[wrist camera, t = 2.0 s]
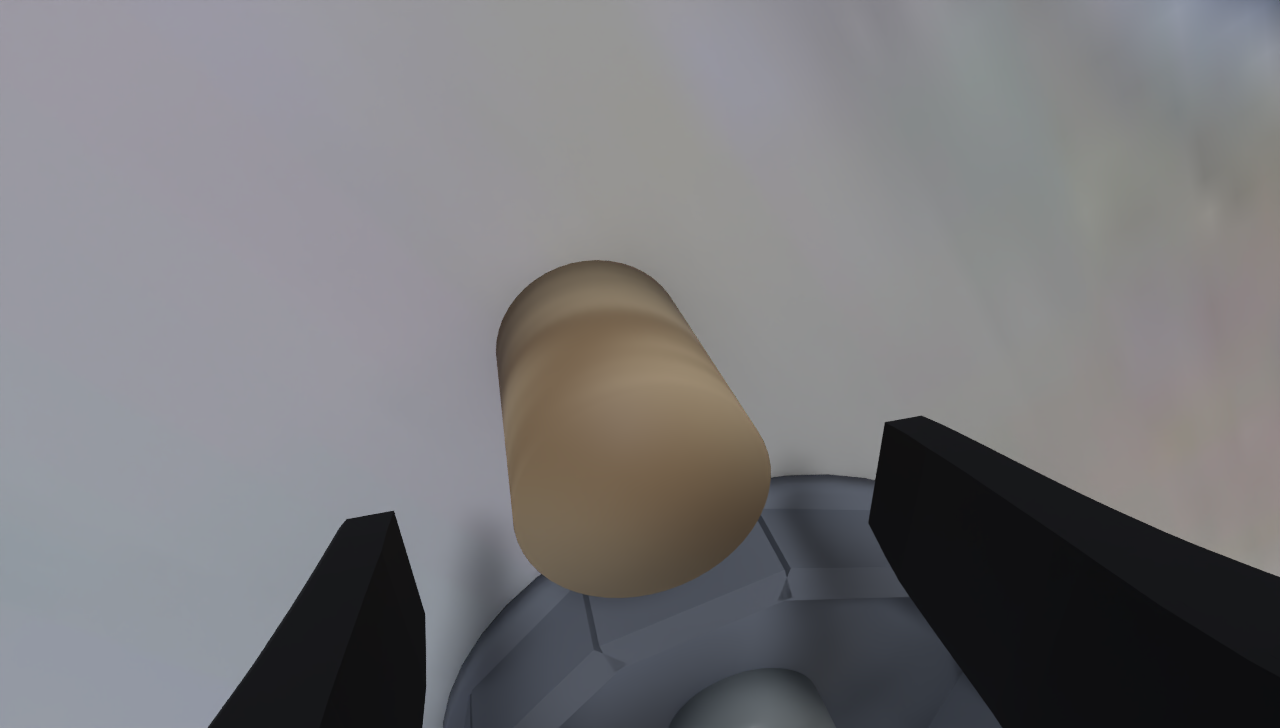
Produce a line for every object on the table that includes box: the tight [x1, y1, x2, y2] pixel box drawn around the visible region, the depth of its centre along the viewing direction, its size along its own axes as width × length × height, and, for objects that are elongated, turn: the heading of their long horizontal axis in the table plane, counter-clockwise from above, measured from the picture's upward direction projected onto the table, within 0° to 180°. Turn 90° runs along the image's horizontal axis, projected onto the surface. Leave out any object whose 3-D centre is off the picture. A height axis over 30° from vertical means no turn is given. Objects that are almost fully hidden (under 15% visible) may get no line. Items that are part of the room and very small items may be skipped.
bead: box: [496, 260, 771, 598], centre depth 13 cm, size 4×4×5 cm
